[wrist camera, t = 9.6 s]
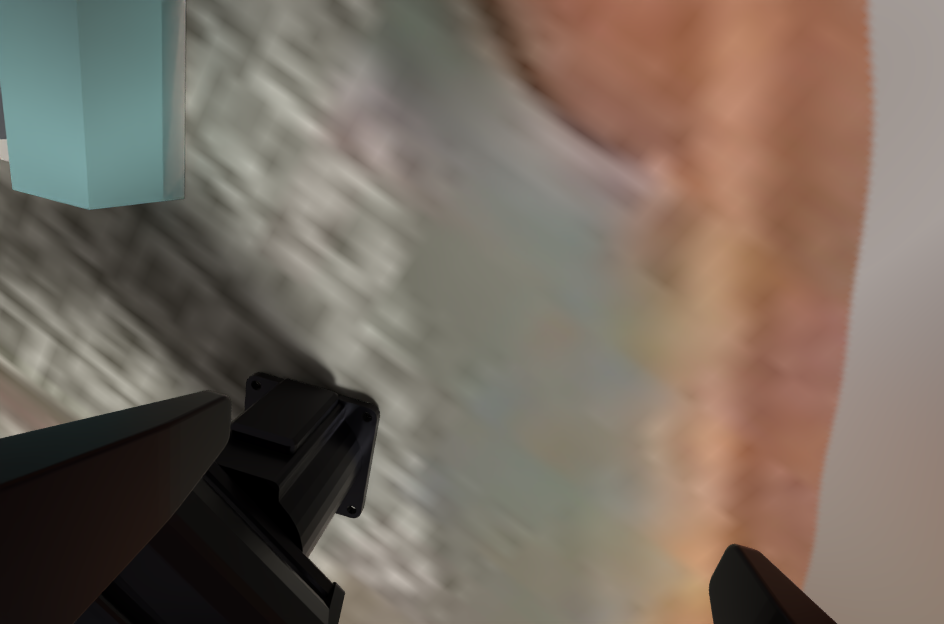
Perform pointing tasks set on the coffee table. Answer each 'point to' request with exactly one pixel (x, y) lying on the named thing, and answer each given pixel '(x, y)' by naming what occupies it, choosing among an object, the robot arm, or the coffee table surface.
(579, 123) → the coffee table surface
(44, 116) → the rail track
